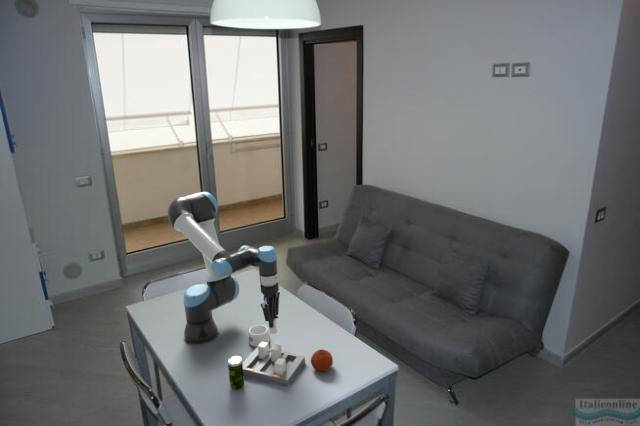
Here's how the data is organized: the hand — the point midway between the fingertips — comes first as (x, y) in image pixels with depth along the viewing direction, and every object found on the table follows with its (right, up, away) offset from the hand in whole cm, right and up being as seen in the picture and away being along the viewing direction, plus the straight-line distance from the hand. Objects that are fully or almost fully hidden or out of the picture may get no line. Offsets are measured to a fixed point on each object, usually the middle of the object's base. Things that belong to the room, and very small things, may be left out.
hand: (273, 332), depth 195 cm
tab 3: (+5, -12, -17) cm, 21 cm away
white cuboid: (+2, -9, -7) cm, 12 cm away
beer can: (-12, -16, -21) cm, 28 cm away
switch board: (+1, -12, -11) cm, 16 cm away
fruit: (+21, -12, -11) cm, 27 cm away
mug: (-8, -6, +10) cm, 14 cm away
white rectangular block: (-3, -9, -5) cm, 11 cm away
